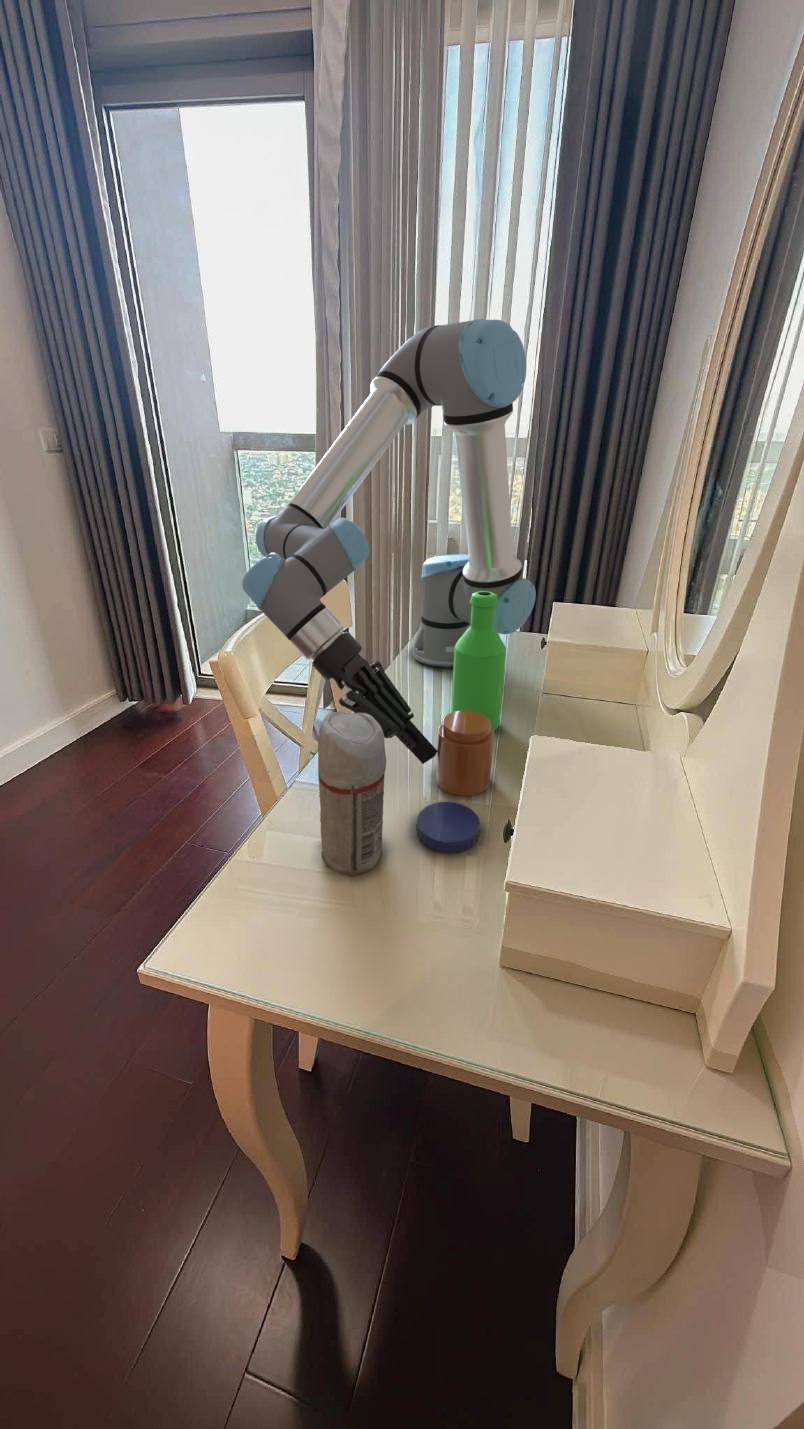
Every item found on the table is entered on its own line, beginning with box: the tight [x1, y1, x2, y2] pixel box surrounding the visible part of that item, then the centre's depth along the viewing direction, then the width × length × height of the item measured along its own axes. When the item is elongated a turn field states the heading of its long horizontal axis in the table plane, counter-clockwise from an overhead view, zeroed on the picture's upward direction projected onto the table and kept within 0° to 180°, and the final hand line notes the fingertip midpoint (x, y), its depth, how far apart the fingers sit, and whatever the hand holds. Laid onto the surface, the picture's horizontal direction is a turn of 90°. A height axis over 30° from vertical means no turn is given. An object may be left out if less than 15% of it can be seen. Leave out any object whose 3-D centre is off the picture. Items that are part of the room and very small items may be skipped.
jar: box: [435, 711, 495, 797], centre depth 86 cm, size 8×8×11 cm
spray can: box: [317, 710, 387, 876], centre depth 70 cm, size 8×8×20 cm
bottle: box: [450, 591, 507, 731], centre depth 98 cm, size 9×9×25 cm
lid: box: [415, 801, 481, 854], centre depth 78 cm, size 9×9×2 cm
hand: (430, 757), depth 89 cm, fingers closed
